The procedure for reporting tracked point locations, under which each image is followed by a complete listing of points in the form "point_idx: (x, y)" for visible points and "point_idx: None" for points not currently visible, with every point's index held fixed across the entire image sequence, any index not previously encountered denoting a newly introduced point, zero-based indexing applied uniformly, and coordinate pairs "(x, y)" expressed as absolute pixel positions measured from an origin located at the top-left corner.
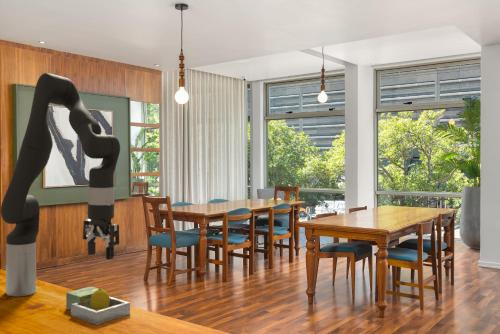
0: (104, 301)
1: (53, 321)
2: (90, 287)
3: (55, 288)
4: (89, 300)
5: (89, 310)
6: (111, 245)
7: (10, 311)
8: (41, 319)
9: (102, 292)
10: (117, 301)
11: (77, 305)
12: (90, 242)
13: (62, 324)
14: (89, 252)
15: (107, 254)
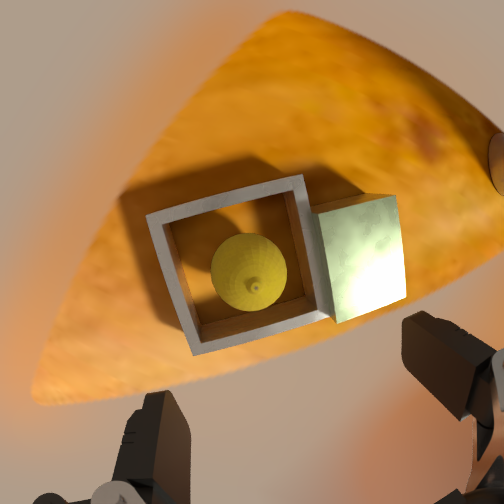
0: (211, 277)
1: (271, 112)
2: (397, 291)
3: (497, 240)
4: (306, 248)
5: (186, 203)
6: (51, 494)
7: (413, 74)
8: (311, 94)
9: (230, 285)
10: (242, 330)
11: (272, 186)
12: (478, 380)
13: (225, 124)
14: (417, 326)
15: (140, 422)
